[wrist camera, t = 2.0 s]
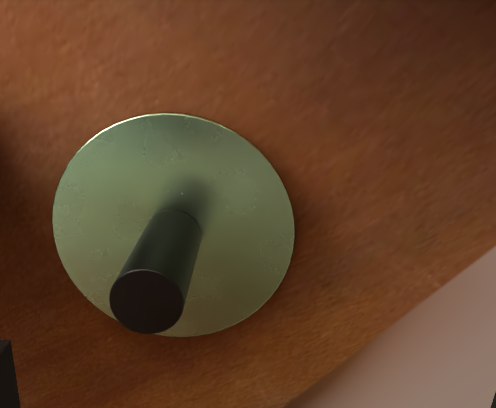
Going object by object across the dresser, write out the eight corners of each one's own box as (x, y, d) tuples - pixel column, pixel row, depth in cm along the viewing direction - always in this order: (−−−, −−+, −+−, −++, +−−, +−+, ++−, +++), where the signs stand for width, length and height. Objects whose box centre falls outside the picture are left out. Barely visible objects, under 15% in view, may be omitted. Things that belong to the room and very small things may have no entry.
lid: (60, 314, 33) (-8, 412, 24) (57, 94, 28) (-33, 120, 19) (275, 338, 33) (282, 443, 25) (311, 127, 28) (337, 166, 19)
